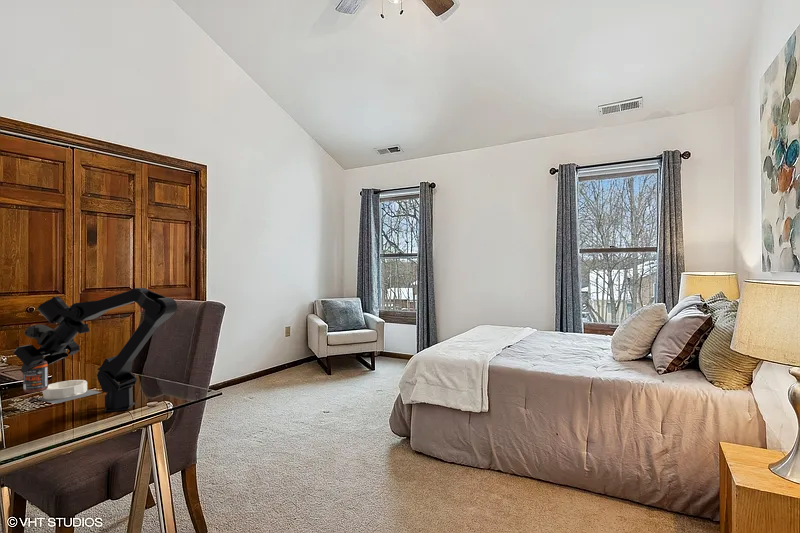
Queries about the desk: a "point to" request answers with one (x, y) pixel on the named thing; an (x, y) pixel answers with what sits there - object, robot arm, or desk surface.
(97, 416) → the desk surface
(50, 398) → the bowl
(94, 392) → the mat
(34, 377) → the supplement bottle
